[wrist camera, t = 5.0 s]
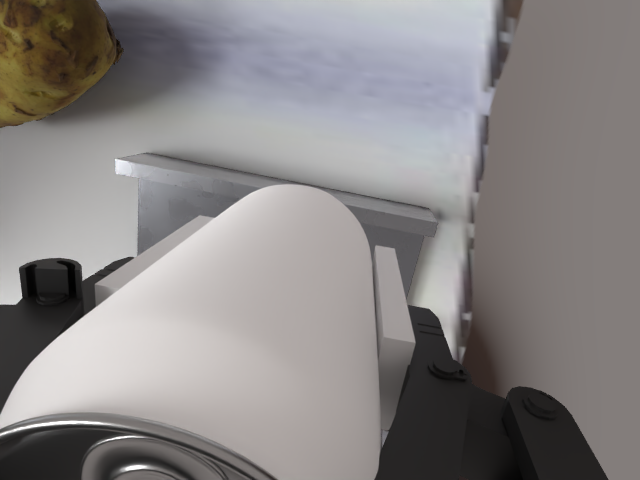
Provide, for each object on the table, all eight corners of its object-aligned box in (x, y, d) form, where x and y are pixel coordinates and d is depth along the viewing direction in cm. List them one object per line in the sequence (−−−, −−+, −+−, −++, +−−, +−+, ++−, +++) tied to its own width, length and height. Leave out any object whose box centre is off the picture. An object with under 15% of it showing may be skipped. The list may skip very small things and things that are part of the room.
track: (143, 269, 34) (115, 289, 30) (146, 152, 30) (115, 158, 27) (397, 323, 33) (401, 351, 29) (428, 208, 29) (438, 222, 25)
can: (388, 198, 15) (462, 467, 4) (353, 339, 17) (336, 778, 6) (225, 166, 15) (-154, 329, 4) (212, 309, 18) (-62, 674, 6)
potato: (-27, 8, 28) (-168, -28, 21) (139, -12, 27) (51, -59, 19) (10, 127, 31) (-105, 134, 23) (163, 116, 29) (93, 119, 22)
